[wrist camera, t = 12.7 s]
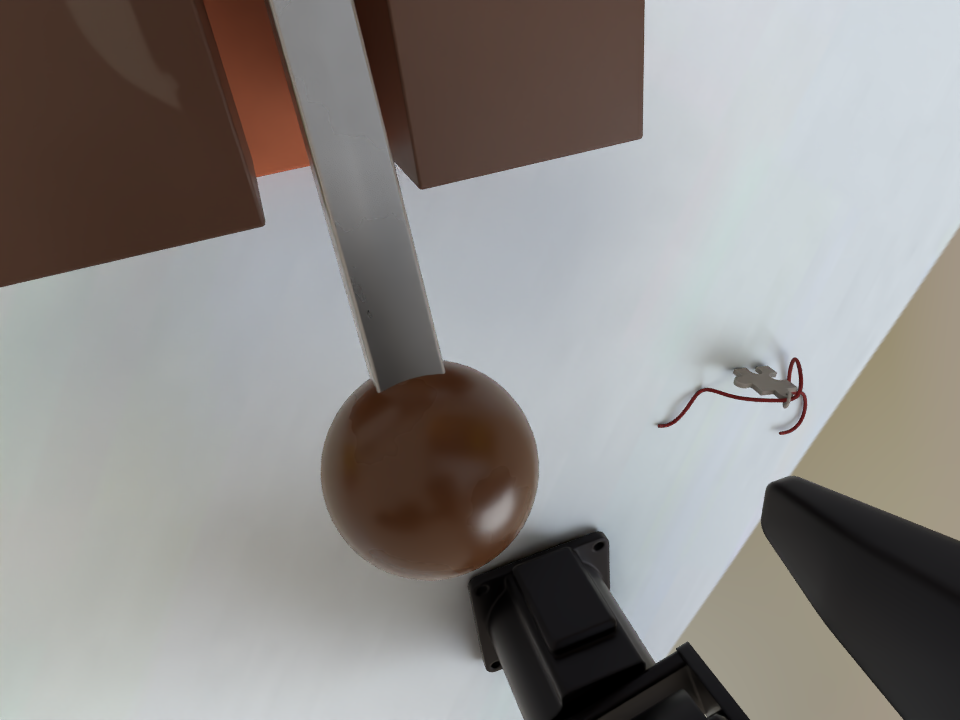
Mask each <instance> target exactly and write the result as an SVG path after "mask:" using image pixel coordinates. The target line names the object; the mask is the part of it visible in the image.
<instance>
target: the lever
mask: <svg viewBox="0 0 960 720" xmlns="http://www.w3.org/2000/svg"><path fill="white" fill-rule="evenodd" d="M264 2H265V6H266V9H267V13H268V17H269V20H270V24H271V27H272V31H273V34H274V38H275V41H276V45H277V49H278V52H279V56H280V59H281V63H282V66H283V70H284V73H285V77H286V81H287V84H288V88H289V91H290V95H291V98H292V102H293V105H294V109H295V113H296V116H297V120H298V123H299V127H300V130H301V134H302V138H303V141H304V145H305V148H306V152H307V155H308V159H309V162H310V166H311V170H312V173H313V177H314V180H315V184H316V187H317V191H318V194H319V198H320V202H321V205H322V209H323V212H324V216H325V219H326V223H327V227H328V230H329V234H330V237H331V241H332V244H333V248H334V251H335V255H336V259H337V262H338V266H339V269H340V273H341V276H342V280H343V283H344V287H345V291H346V294H347V298H348V301H349V305H350V308H351V312H352V315H353V319H354V323H355V326H356V330H357V333H358V337H359V340H360V344H361V348H362V351H363V355H364V358H365V362H366V365H367V369H368V372H369V376H370V379H369V380H368V381H366V382H365V383H363V384H362V385H361V386H360V387H359V388H358V389H357V390H355V391H354V392H353V393H352V395H351V396H350V397H349V398H348V399H347V400H346V401H345V402H344V404H343V405H342V407H341V408H340V410H339V411H338V413H337V414H336V416H335V418H334V420H333V422H332V424H331V426H330V428H329V431H328V433H327V436H326V439H325V442H324V447H323V452H322V459H321V485H322V492H323V496H324V500H325V504H326V507H327V510H328V512H329V515H330V517H331V520H332V522H333V523H334V525H335V527H336V528H337V530H338V532H339V533H340V535H341V536H342V537H343V539H344V540H345V541H346V542H347V544H348V545H349V546H350V547H351V548H352V549H353V550H354V551H355V552H356V553H357V554H358V555H359V556H361V557H362V558H363V559H365V560H366V561H368V562H369V563H371V564H372V565H374V566H375V567H377V568H379V569H381V570H383V571H385V572H387V573H390V574H393V575H396V576H399V577H403V578H408V579H413V580H424V581H433V580H444V579H449V578H454V577H458V576H461V575H464V574H467V573H469V572H471V571H474V570H476V569H478V568H480V567H482V566H483V565H485V564H487V563H488V562H490V561H491V560H493V559H494V558H495V557H497V556H498V555H499V554H500V553H501V552H502V551H503V550H505V549H506V548H507V547H508V546H509V545H510V543H511V542H512V541H513V540H514V539H515V538H516V536H517V535H518V533H519V532H520V530H521V529H522V528H523V526H524V524H525V522H526V520H527V518H528V516H529V514H530V511H531V509H532V506H533V503H534V499H535V495H536V491H537V487H538V478H539V460H538V453H537V446H536V442H535V438H534V435H533V432H532V430H531V427H530V425H529V423H528V421H527V418H526V416H525V414H524V413H523V411H522V410H521V408H520V406H519V405H518V404H517V402H516V401H515V400H514V399H513V398H512V397H511V395H510V394H509V393H508V392H507V391H506V390H505V389H504V388H503V387H502V386H500V385H499V384H498V383H497V382H496V381H494V380H493V379H491V378H490V377H488V376H487V375H485V374H483V373H481V372H479V371H477V370H475V369H473V368H471V367H468V366H465V365H462V364H458V363H454V362H448V361H443V360H442V356H441V352H440V348H439V344H438V340H437V336H436V332H435V328H434V324H433V320H432V315H431V311H430V307H429V303H428V299H427V295H426V291H425V287H424V283H423V279H422V275H421V271H420V267H419V263H418V259H417V255H416V251H415V247H414V242H413V238H412V234H411V230H410V226H409V222H408V218H407V214H406V210H405V206H404V202H403V198H402V194H401V190H400V186H399V182H398V178H397V174H396V169H395V165H394V161H393V157H392V153H391V149H390V145H389V141H388V137H387V133H386V129H385V125H384V121H383V117H382V113H381V109H380V105H379V101H378V96H377V92H376V88H375V84H374V80H373V76H372V72H371V68H370V64H369V60H368V56H367V52H366V48H365V44H364V40H363V36H362V32H361V28H360V24H359V19H358V15H357V11H356V7H355V3H354V0H264Z"/></svg>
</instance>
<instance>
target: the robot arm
mask: <svg viewBox="0 0 960 720" xmlns="http://www.w3.org/2000/svg"><path fill="white" fill-rule="evenodd" d="M761 526H762V529H763V532H764V534H765V536H766V538H767V539H768V541H769V542H770V544H771V545H772V547H773V548H774V550H775V551H776V553H777V554H778V555H779V557H780V558H781V560H782V561H783V563H784V564H785V566H786V567H787V569H788V570H789V572H790V573H791V575H792V576H793V578H794V579H795V581H796V582H797V583H798V585H799V587H800V588H801V590H802V591H803V593H804V594H805V595H806V597H807V598H808V600H809V601H810V603H811V604H812V606H813V607H814V609H815V610H816V612H817V613H818V614H819V616H820V617H821V619H822V620H823V621H824V623H825V624H826V625H827V627H828V628H829V629H830V630H831V632H832V633H833V634H834V636H835V637H836V638H837V639H838V640H839V642H840V643H841V644H842V645H843V647H844V648H845V649H846V650H847V651H848V653H849V654H850V655H851V656H852V658H854V660H855V661H856V662H857V664H858V665H859V666H860V667H861V668H862V670H863V671H864V672H865V673H866V674H867V676H868V677H869V678H870V679H871V681H872V682H873V683H874V684H875V686H876V687H877V688H878V689H879V690H880V692H881V693H882V694H883V695H884V696H885V698H886V699H887V700H888V701H889V702H890V704H891V705H892V706H893V707H894V709H895V710H896V711H897V712H898V713H899V715H900V716H901V717H902V718H903V720H960V541H958V540H956V539H953V538H951V537H948V536H946V535H943V534H941V533H938V532H936V531H933V530H931V529H928V528H926V527H923V526H921V525H918V524H916V523H913V522H911V521H908V520H906V519H903V518H900V517H898V516H895V515H893V514H891V513H888V512H886V511H883V510H880V509H878V508H875V507H873V506H870V505H868V504H865V503H863V502H860V501H858V500H855V499H853V498H850V497H848V496H845V495H843V494H840V493H838V492H835V491H833V490H830V489H828V488H825V487H822V486H820V485H818V484H815V483H813V482H810V481H808V480H805V479H802V478H800V477H796V476H788V477H785V478H782V479H779V480H777V481H774V482H771V483H770V484H769V485H768V486H767V488H766V491H765V497H764V503H763V509H762V516H761ZM468 589H469V594H470V599H471V604H472V609H473V613H474V618H475V623H476V628H477V633H478V638H479V643H480V648H481V653H482V658H483V662H484V665H485V667H486V670H487V671H489V672H495V671H498V670H501V669H503V670H504V673H505V675H506V678H507V680H508V682H509V685H510V687H511V690H512V692H513V695H514V697H515V699H516V702H517V704H518V707H519V709H520V711H521V714H522V716H523V719H524V720H750V719H749V718H748V717H747V715H746V714H745V713H744V712H743V710H742V709H741V708H740V707H739V705H738V704H737V703H736V702H735V700H734V699H733V698H732V696H731V695H730V694H729V693H728V691H727V690H726V689H725V688H724V686H723V685H722V684H721V683H720V682H719V680H718V679H717V678H716V676H715V675H714V674H713V673H712V671H711V670H710V669H709V668H708V666H707V665H706V664H705V662H704V661H703V660H702V659H701V658H700V656H699V655H698V654H697V652H696V651H695V650H694V649H693V647H692V646H691V645H690V643H689V642H686V643H684V644H683V645H681V646H679V647H678V648H676V650H677V651H676V652H674V653H673V654H671V655H669V656H668V657H666V658H664V659H663V660H661V661H659V662H658V663H655V662H654V660H653V659H652V657H651V655H650V654H649V652H648V651H647V649H646V647H645V646H644V644H643V643H642V641H641V640H640V638H639V636H638V635H637V633H636V632H635V630H634V629H633V627H632V625H631V624H630V622H629V621H628V619H627V618H626V616H625V614H624V613H623V611H622V610H621V608H620V607H619V605H618V603H617V602H616V600H615V599H614V597H613V596H612V594H611V592H610V570H609V541H608V539H607V537H606V536H605V535H604V533H602V532H599V531H598V532H594V533H591V534H588V535H586V536H583V537H580V538H578V539H575V540H572V541H569V542H567V543H564V544H561V545H559V546H556V547H553V548H551V549H548V550H545V551H543V552H540V553H537V554H535V555H532V556H529V557H526V558H524V559H521V560H518V561H516V562H513V563H510V564H508V565H505V566H502V567H500V568H497V569H494V570H491V571H489V572H486V573H483V574H481V575H478V576H476V577H474V578H473V579H472V580H471V581H470V582H469V584H468ZM704 714H705V715H706V716H707V718H706V717H705V715H704Z"/></svg>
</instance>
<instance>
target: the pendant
mask: <svg viewBox="0 0 960 720" xmlns="http://www.w3.org/2000/svg"><path fill="white" fill-rule="evenodd" d="M794 362H796V364H797V368H798V374H799V388H798V391H796V390H797V387H796V386H795V385H793V384H792V383H791V373H792V368H793V365H794ZM755 372H757V373H758V374H755V373H752V372H750V371H749V370H748V369H747V368H738V369H734V371H733V374H735V375H736V376H737V377H736V378H735V380H734V384H735V385H736V386H737V387H740V388H750V387H751V388H752V389H754V390H755V391H756V392H758V393H759V394H760V395H770V394H774V395H775V396H776V397H777V398H779V399H766V398H750V397H742V396H736V395H732V394H728V393H725V392H722V391H719V390H716V389H712V388H703V389H700V390H699V391H697V392H696V393H695V394H694V396H693V397H692V398H691V400H690V401H689V403H688V404H687V406H686V407H685V408H684V410H683V411H682V412H681V413H680V414H679V416H678V417H676V418H675V419H674V420H673V421H671V422H669V423H667V424H658V428H664V427H669V426H671V425H673V424H675V423H676V422H677V421H678V420H679V419H681V417H682V416H683V415H684V414H685V413H686V412H687V410H688V409H689V408H690V406H691V405H692V403H693V402H694V400H695V399H696V398H697V396H698V395H699V394H701V393H702V392H705V391H709V392H713V393H717V394H720V395H723V396H726V397H730V398H733V399H738V400H745V401H754V402H783V407H784V408H785V409H786V408H787V407H788V406H789V403H790V401H793V400H795V399H797V398H798V397H799V396H800V394H801V395H802V397H803V411H802V415H801V418H800V420H799V421H798V423H797V424H796V425H795V426H794V427H793V428H791V429H789V430H787V431H782V432H779V434H780V435H784V434H788V433H791V432H793V431H794V430H796V429H797V428H798V427H799V426H800V424H801V423H802V421H803V419H804V417H805V414H806V409H807V398H806V395H805V393H804V392H802V388H803V374H802V368H801V364H800V362H799V360H798V359H797V358H793V359H792V360H791V362H790V365H789V369H788V376H787V380H776V379H773V378H771V377H776V374H777V372H775V371H774V370H773V369H771V368H770V367H769V366H759V367H756V369H755ZM793 395H794V396H793Z"/></svg>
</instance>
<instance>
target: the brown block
mask: <svg viewBox="0 0 960 720" xmlns="http://www.w3.org/2000/svg"><path fill="white" fill-rule="evenodd" d="M354 3H355V7H356V11H357V15H358V19H359V24H360V28H361V32H362V36H363V40H364V44H365V48H366V52H367V56H368V60H369V64H370V68H371V72H372V76H373V80H374V84H375V88H376V92H377V96H378V101H379V105H380V109H381V113H382V117H383V121H384V125H385V129H386V133H387V137H388V141H389V145H390V149H391V153H392V157H393V161H394V162H395V163H396V164H397V165H398V166H399V167H400V168H401V169H402V170H403V171H404V173H405V174H406V175H407V176H408V177H409V178H410V179H411V180H412V181H413V182H414V183H415V184H416V185H417V187H418V188H419V189H422V190H423V189H427V188H431V187H435V186H440V185H444V184H448V183H453V182H457V181H461V180H466V179H470V178H474V177H478V176H483V175H487V174H491V173H496V172H500V171H504V170H509V169H513V168H517V167H522V166H526V165H530V164H534V163H539V162H543V161H547V160H552V159H556V158H560V157H565V156H569V155H573V154H577V153H582V152H586V151H590V150H595V149H599V148H603V147H608V146H612V145H616V144H620V143H625V142H629V141H633V140H638V139H641V138H642V136H643V72H644V7H645V0H354ZM306 166H310V162H309V159H308V155H307V152H306V148H305V145H304V141H303V138H302V134H301V130H300V127H299V123H298V120H297V116H296V113H295V109H294V105H293V102H292V98H291V95H290V91H289V88H288V84H287V81H286V77H285V73H284V70H283V66H282V63H281V59H280V56H279V52H278V49H277V45H276V41H275V38H274V34H273V31H272V27H271V24H270V20H269V17H268V13H267V9H266V6H265V2H264V0H0V287H4V286H8V285H13V284H17V283H21V282H26V281H30V280H34V279H39V278H43V277H47V276H52V275H56V274H60V273H64V272H69V271H73V270H77V269H82V268H86V267H90V266H95V265H99V264H103V263H107V262H112V261H116V260H120V259H125V258H129V257H133V256H138V255H142V254H146V253H151V252H155V251H159V250H163V249H168V248H172V247H176V246H181V245H185V244H189V243H194V242H198V241H202V240H206V239H211V238H215V237H219V236H224V235H228V234H232V233H237V232H241V231H245V230H250V229H254V228H258V227H262V226H264V225H265V218H264V213H263V208H262V203H261V198H260V193H259V189H258V184H257V179H256V177H260V176H265V175H269V174H274V173H278V172H283V171H288V170H292V169H297V168H302V167H306Z"/></svg>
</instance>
